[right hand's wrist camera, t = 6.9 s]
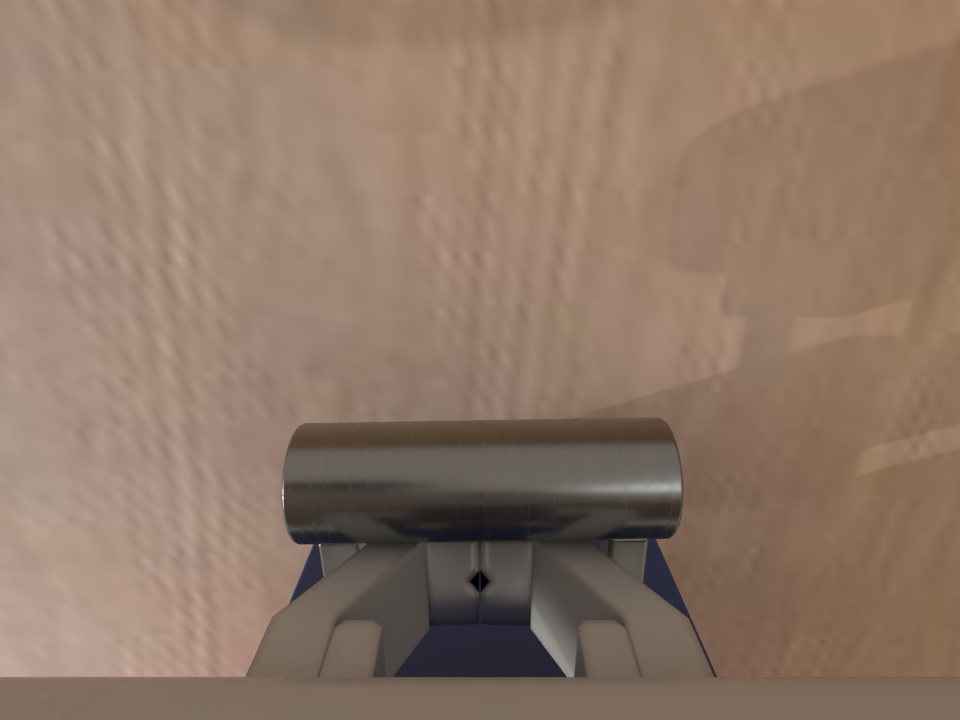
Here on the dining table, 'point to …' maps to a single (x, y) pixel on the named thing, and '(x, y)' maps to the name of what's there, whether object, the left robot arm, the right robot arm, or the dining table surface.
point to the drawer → (486, 508)
